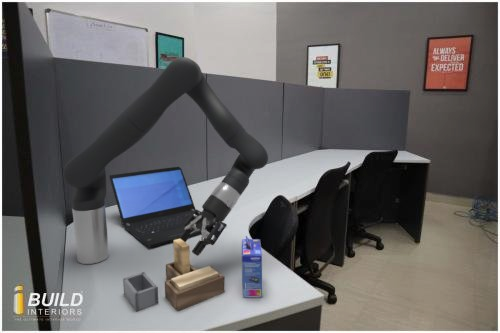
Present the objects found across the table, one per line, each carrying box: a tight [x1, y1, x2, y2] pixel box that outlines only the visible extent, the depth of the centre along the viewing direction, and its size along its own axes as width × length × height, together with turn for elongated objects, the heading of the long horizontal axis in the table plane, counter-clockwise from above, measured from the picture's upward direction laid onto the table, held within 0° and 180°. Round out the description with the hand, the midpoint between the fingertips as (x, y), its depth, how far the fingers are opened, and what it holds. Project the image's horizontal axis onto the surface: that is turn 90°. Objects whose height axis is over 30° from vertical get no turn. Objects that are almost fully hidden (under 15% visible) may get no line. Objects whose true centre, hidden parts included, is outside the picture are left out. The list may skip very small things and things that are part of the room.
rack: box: [164, 261, 226, 312], centre depth 91 cm, size 16×14×4 cm
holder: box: [122, 271, 159, 312], centre depth 86 cm, size 9×6×4 cm, turn 38°
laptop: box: [109, 166, 227, 249], centre depth 136 cm, size 33×38×19 cm
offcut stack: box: [171, 265, 219, 292], centre depth 88 cm, size 5×12×5 cm, turn 128°
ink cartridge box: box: [241, 235, 264, 298], centre depth 91 cm, size 10×6×14 cm, turn 2°
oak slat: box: [172, 239, 191, 275], centre depth 93 cm, size 6×2×12 cm, turn 38°
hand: (187, 248), depth 93 cm, fingers open, 8 cm apart
